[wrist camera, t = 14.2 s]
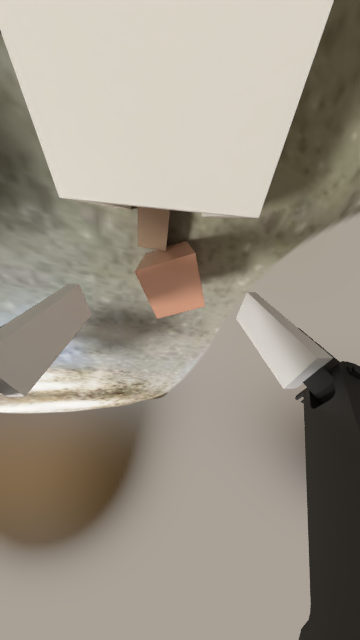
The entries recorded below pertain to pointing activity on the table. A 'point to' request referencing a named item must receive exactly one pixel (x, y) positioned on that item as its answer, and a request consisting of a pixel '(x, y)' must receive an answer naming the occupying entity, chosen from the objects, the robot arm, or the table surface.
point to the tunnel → (163, 95)
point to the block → (171, 280)
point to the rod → (153, 227)
